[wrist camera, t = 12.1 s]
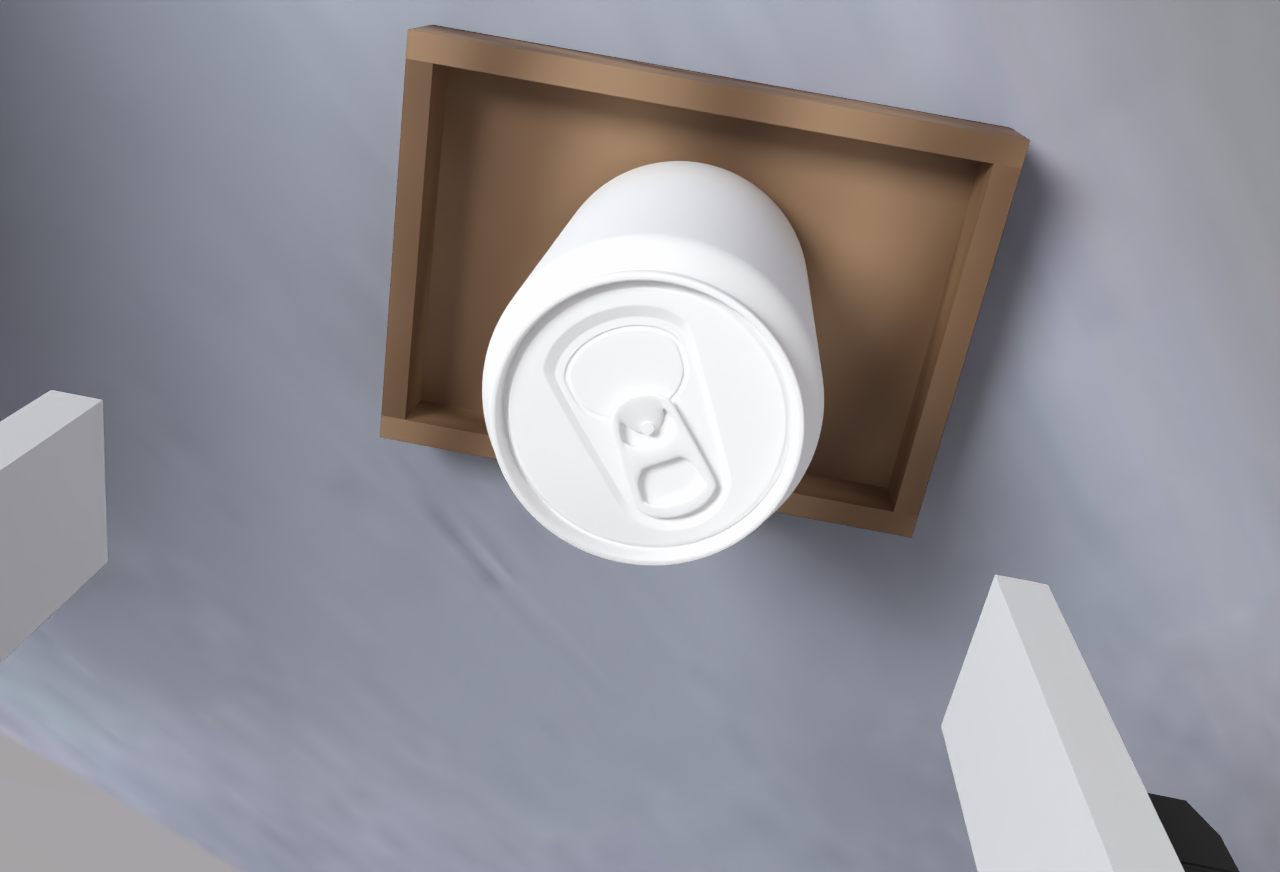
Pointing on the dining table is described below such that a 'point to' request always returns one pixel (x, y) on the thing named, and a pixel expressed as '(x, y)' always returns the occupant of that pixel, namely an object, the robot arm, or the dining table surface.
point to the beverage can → (659, 369)
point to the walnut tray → (735, 141)
